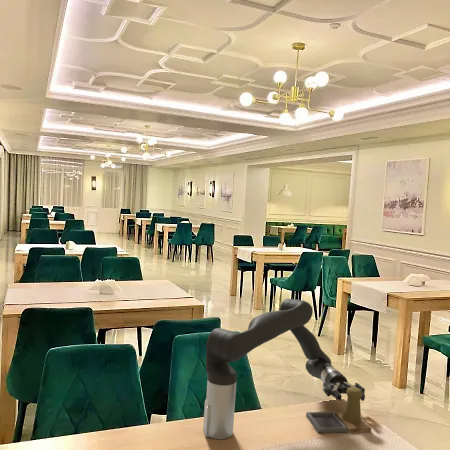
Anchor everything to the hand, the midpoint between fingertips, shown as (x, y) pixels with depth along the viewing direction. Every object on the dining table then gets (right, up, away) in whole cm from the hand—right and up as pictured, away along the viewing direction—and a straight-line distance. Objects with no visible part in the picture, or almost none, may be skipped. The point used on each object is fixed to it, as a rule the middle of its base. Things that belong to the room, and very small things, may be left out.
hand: (352, 398), depth 166 cm
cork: (0, -7, -1) cm, 7 cm away
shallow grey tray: (-10, -8, -3) cm, 13 cm away
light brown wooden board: (0, -8, -1) cm, 8 cm away
